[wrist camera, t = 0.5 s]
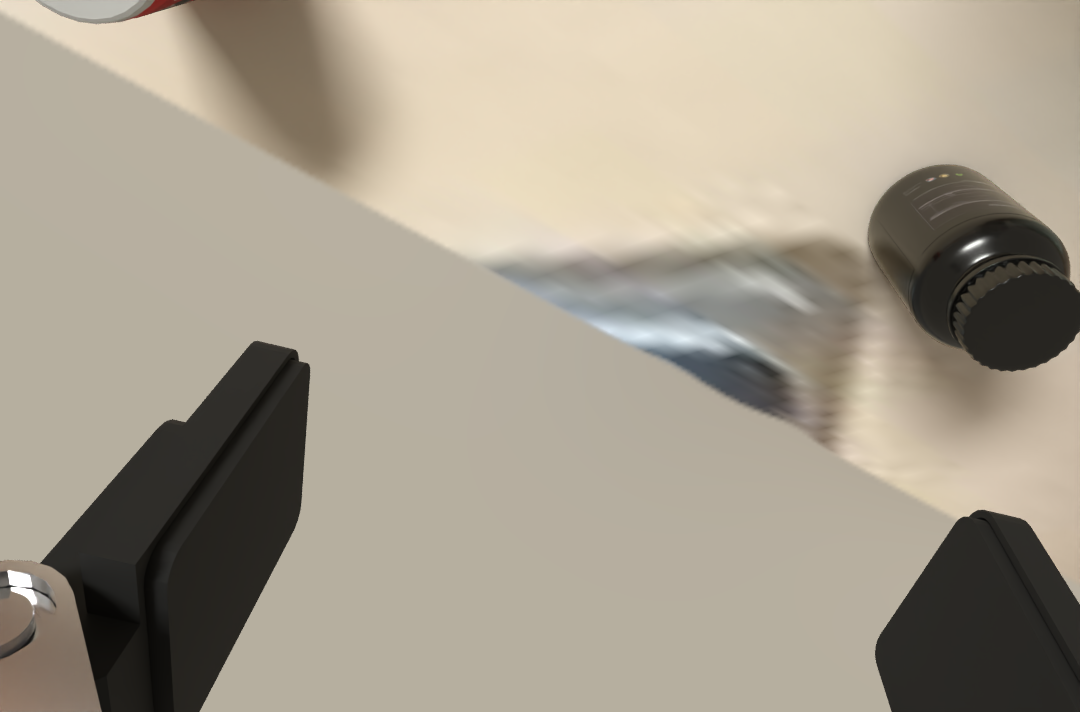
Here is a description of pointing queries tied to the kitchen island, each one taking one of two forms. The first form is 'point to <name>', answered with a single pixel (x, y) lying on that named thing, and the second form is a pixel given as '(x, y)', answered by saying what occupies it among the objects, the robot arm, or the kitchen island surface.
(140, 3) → the canned food
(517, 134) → the kitchen island surface
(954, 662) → the robot arm
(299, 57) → the kitchen island surface
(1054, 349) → the supplement bottle
